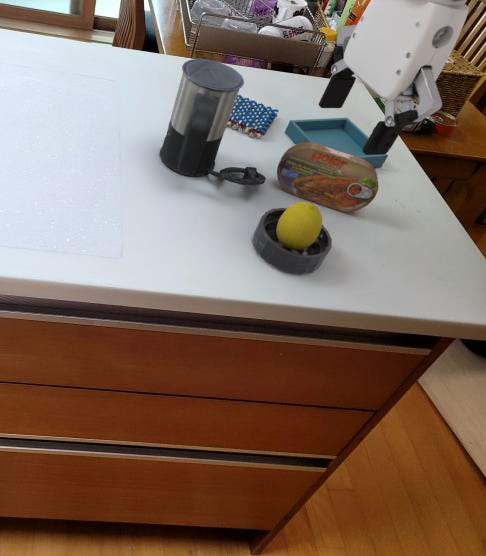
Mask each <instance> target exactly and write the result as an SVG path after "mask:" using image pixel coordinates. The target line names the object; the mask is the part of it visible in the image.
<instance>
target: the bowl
mask: <svg viewBox="0 0 486 556" xmlns="http://www.w3.org/2000/svg"><path fill="white" fill-rule="evenodd" d="M287 208H288V207H276V208H271V209H270V210H267V211H265V212H264V213H263V215H261V217H260V219H259V221H258V224H257V226H256V227H255V230H254V232H253V236H252V244H253V247H254V250H255V251H256V252H257V254H258V256H260V257H261V258H262V259H263V260H264V261H265V262H266V263H268V264H269V265H270V266H272V267H274V268H275V269H278V270H281V271H283V272H286V273H288V274H289V273H290V274H297V275H305V274H310V273H314V272H315V271H316V270H318V269H319V268H320V267H321V265H322V264H323V262H324V260H325V259H326V257H327V256H328V254H329V252H330V251H331V249H332V246H333V239H332V237H331V235H330V232H329V230H328V229H327V228H326V227H325V226H324V225H323V224H322V227H321V230H320V233H319V235H318V237H317V239H316V240H315V241H314V242H313V243H312V244H311V245H310V246H309V247H307V248H305V249H302V250H290V249H287V248H286V247H284V246H283V245H282V244H281V243H280V242H279V240H278V238H277V233H276V229H277V224H278V221H279V219H280V217H281V215H282V214H283V213H284V212H285V210H286V209H287Z"/></svg>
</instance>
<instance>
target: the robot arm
mask: <svg viewBox="0 0 486 556" xmlns="http://www.w3.org/2000/svg"><path fill="white" fill-rule="evenodd" d="M466 2H467V0H370V1H369V2H368V4H367V6H366V7H365V9H364V11H363V13H362V14H361V17H360V18H359V21H358V22H357V23H356V24H351V25H342V26H340V27H339V28H338V31H337V37H336V46H335V47H334V49H333V64H332V65H331V68H330V73H331V77H330V79H329V81H328V83H327V85H326V88H325V90H324V92H323V94H322V95H321V97H320V100H319V102H318V107H320V108H321V109H341V108H342V107H343V106H344V104H345V102H346V100H347V98H348V96H349V94H350V93H351V90H352V89H353V87H354V84H355V82H356V80H357V77H358V78H359V80H361V81H362V82H363V83H364V84H365V85H366V86H368V87H369V88H370V90H372V91H373V92H374V93H375V94H376V95H377V96H379V97H380V98H381V99H382V100H384V120H379V121H378V122H376V123H377V124H376V125H375V127H374V128H373V130H372V132H371V134H370V135H369V136H368V137H369V139H368V140H367V142H366V144H365V146H364V147H363V153H364V154H365V155H383V154H387V153H388V152H389V151H390V150H391V149H392V147H393V145H394V144H395V142H396V140H397V139H398V137H399V135H400V134H401V132H402V131H403V129H404V128H407V127H408V128H409V127H411V126H412V125H416V124H420V123H423V122H425V120H426V119H427V118H429V117H430V116H432V115H434V114H435V113H436V112H438V111H439V110H440V109H442V107H443V101H442V97H441V95H440V91H439V89H438V86H437V83H436V81H437V79H438V78H439V76H440V75H441V72H442V71H443V69H444V67H445V66H446V63H447V62H448V59H449V58H450V55H451V54H452V51H453V49H454V48H455V45H456V43H457V41H458V39H459V36H460V35H461V33H462V30H463V27H464V25H465V22H466V20H467V17H468V13H469V10H470V7H469V6H468V5H467V4H466ZM355 75H356V76H357V77H356V76H355ZM401 93H402V94H401ZM415 102H419V103H418V104H416V106H415ZM399 103H400V112H399V111H398V108H399V107H398V106H399Z"/></svg>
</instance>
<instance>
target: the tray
mask: <svg viewBox="0 0 486 556" xmlns="http://www.w3.org/2000/svg"><path fill="white" fill-rule="evenodd" d="M284 133H285V134H286V136H287V137H288V138H289V139H290V140H291V141H292V142H293V143H294V145H296V144H299V143H304V142H312V143H316V144H320V145H322V146H325V147H328V148H331V149H334V150H337V151H340V152H344V153H347V154H350V155H353V156H356V157H359V158H362V159H364V160H366V161H368V162H369V163H370V164H371V165H372V166H373V167H374V169H376V168H382V166H383V165H384V163H385V161H386V160H388V157H389V154H387V153H386V154H383V155H365V154H364V153H363V147H364V146H365V144H366V142H367V140H368V139H369V137H370V136H369V135H367V134H366V133H365V132H363V130H362V129H361V128H359V127H358V126H357V125H356V124H355V123H354V122H353V121H352V120H351V119H350V118H348V117H331V118H329V117H328V118H310V119H291V120H289V121H288V124H287V126H286V128H285V131H284Z"/></svg>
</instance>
